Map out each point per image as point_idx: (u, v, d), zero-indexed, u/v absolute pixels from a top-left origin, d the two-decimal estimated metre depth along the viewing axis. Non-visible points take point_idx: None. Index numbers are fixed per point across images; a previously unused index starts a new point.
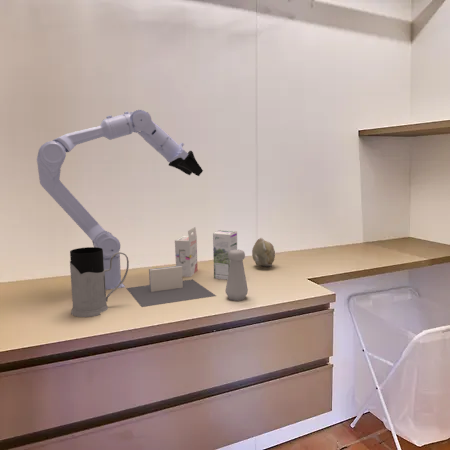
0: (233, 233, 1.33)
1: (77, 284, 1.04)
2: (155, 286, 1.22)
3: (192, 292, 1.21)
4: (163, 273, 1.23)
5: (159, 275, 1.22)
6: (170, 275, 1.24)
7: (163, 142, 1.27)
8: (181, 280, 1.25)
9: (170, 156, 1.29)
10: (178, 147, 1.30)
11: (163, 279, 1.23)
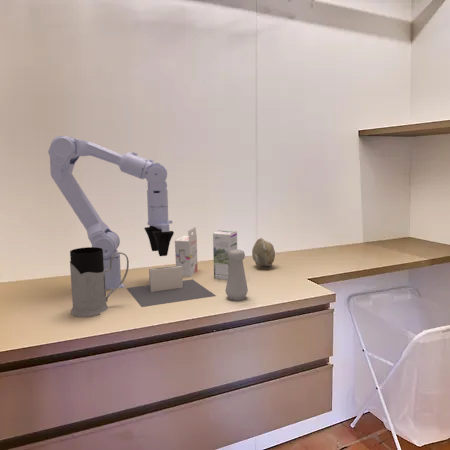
0: (233, 233, 1.33)
1: (77, 284, 1.04)
2: (155, 286, 1.22)
3: (192, 292, 1.21)
4: (163, 273, 1.23)
5: (159, 275, 1.22)
6: (170, 275, 1.24)
7: (155, 205, 1.24)
8: (181, 280, 1.25)
9: (153, 221, 1.25)
10: (166, 220, 1.26)
11: (163, 279, 1.23)
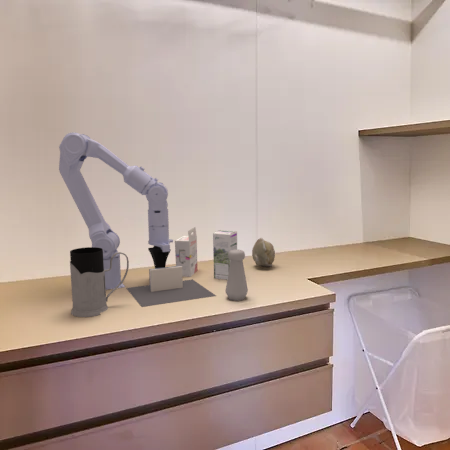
0: (233, 233, 1.33)
1: (77, 284, 1.04)
2: (155, 286, 1.22)
3: (192, 292, 1.21)
4: (163, 273, 1.23)
5: (159, 275, 1.22)
6: (170, 275, 1.24)
7: (156, 225, 1.24)
8: (181, 280, 1.25)
9: (154, 240, 1.25)
10: (166, 240, 1.26)
11: (163, 279, 1.23)
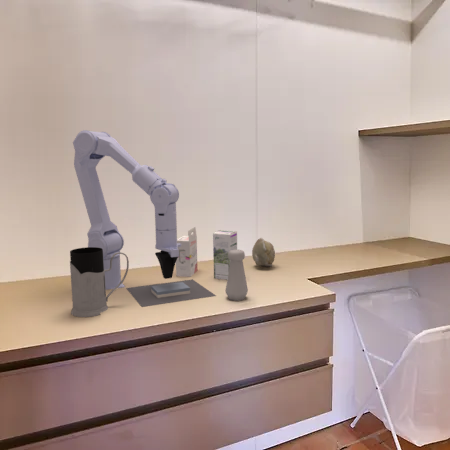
0: (233, 233, 1.33)
1: (77, 284, 1.04)
2: None
3: (192, 292, 1.21)
4: None
5: None
6: None
7: (160, 229, 1.18)
8: None
9: (162, 244, 1.19)
10: (175, 244, 1.20)
11: None
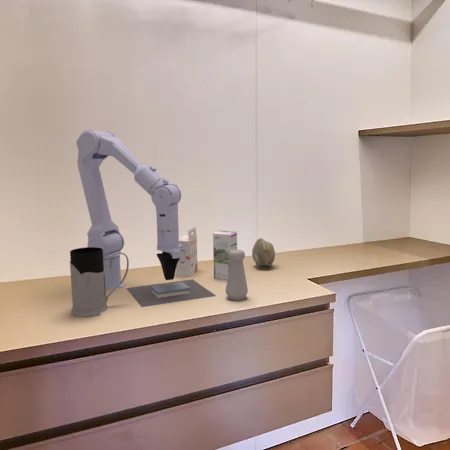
0: (233, 233, 1.33)
1: (77, 284, 1.04)
2: None
3: (192, 292, 1.21)
4: None
5: None
6: None
7: (161, 230, 1.17)
8: None
9: (163, 246, 1.17)
10: (176, 245, 1.18)
11: None
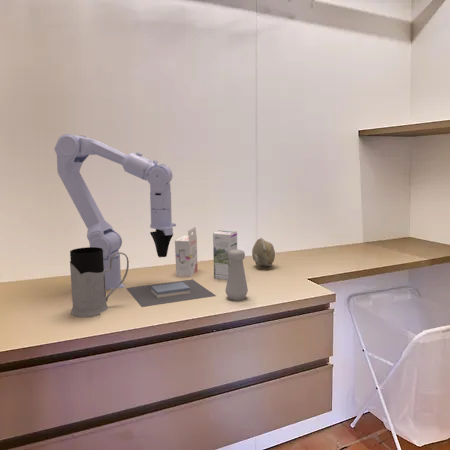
0: (233, 233, 1.33)
1: (77, 284, 1.04)
2: None
3: (192, 292, 1.21)
4: None
5: None
6: None
7: (157, 208, 1.21)
8: None
9: (156, 223, 1.22)
10: (169, 223, 1.23)
11: None
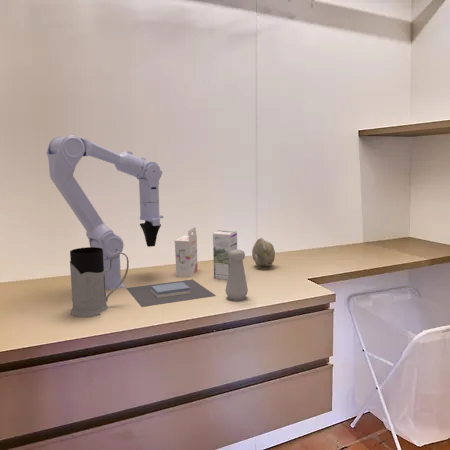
0: (233, 233, 1.33)
1: (77, 284, 1.04)
2: None
3: (192, 292, 1.21)
4: None
5: None
6: None
7: (153, 201, 1.32)
8: None
9: (145, 215, 1.33)
10: (157, 215, 1.34)
11: None
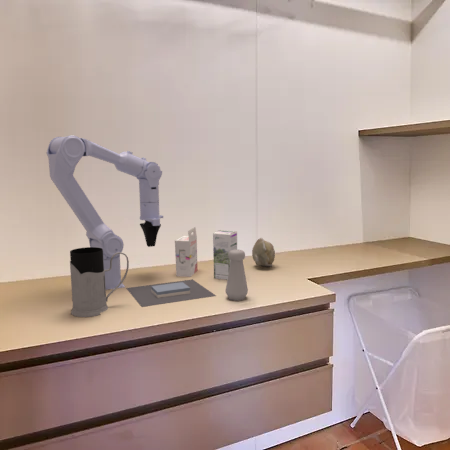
0: (233, 233, 1.33)
1: (77, 284, 1.04)
2: None
3: (192, 292, 1.21)
4: None
5: None
6: None
7: (153, 201, 1.32)
8: None
9: (145, 215, 1.33)
10: (157, 215, 1.34)
11: None
